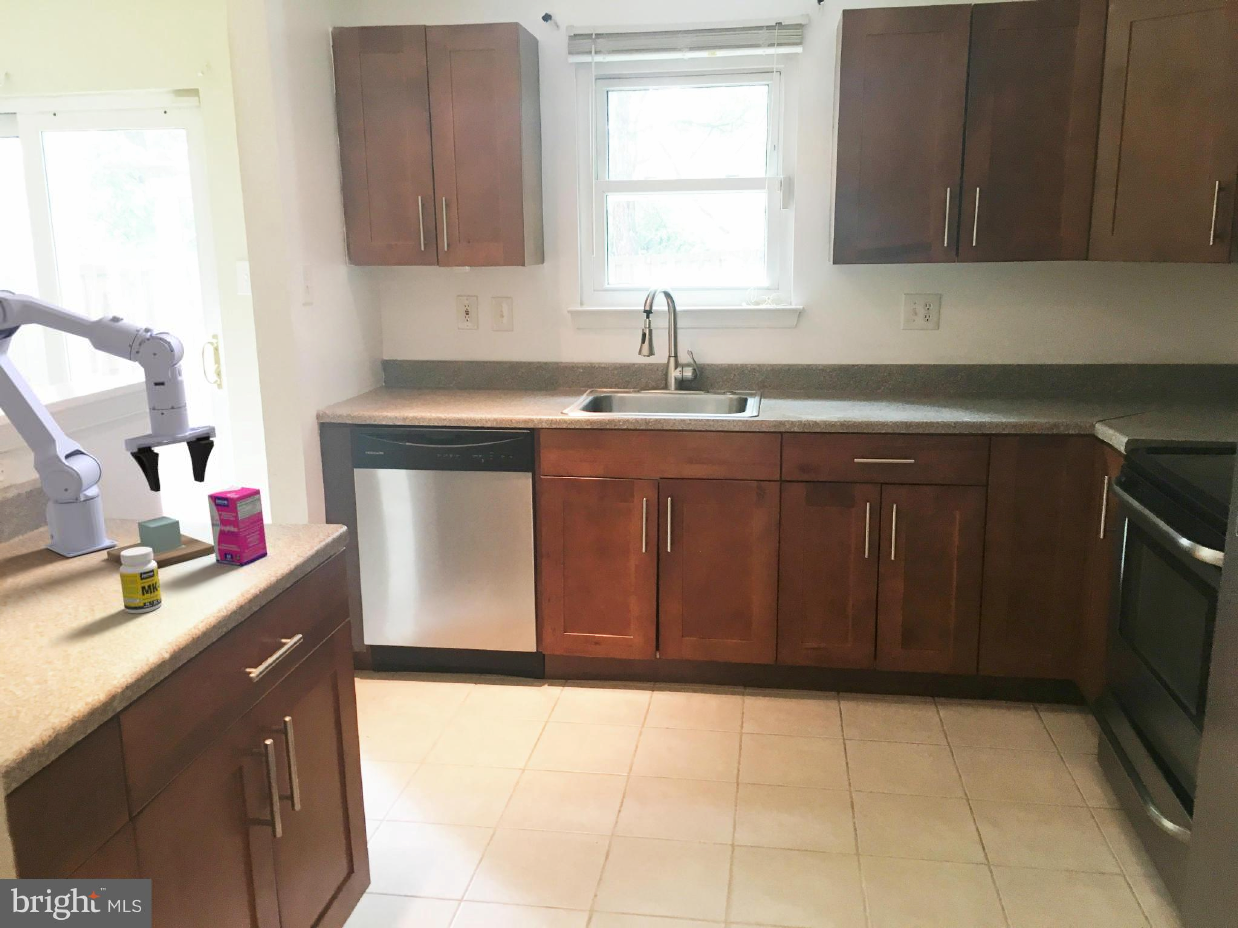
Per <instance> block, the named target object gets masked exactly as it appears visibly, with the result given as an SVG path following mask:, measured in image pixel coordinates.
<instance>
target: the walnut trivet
mask: <svg viewBox="0 0 1238 928" xmlns="http://www.w3.org/2000/svg"><path fill="white" fill-rule="evenodd" d="M181 541H182V547H179V548H176V549H172V550H168V551H165V552H161V553H157V554H154V553H153V559H152V560H153V561H155V562H156V563H157V568H158V569H160V568H165V567H168V566H172V565H175V564H178V563H182V562H186V561H189V560H194V559H197V558H200V557H203V556H204V557H205V556H208V555H211V554H215V550H214V544H211V543H209V542H206V541H203V540H200V539H197V538H194V537H191V536H188V535H185V534H182V533H181ZM135 547H141V543H140V542H136V543H132V544H129V545H124V546H122V547H118V548H113V549H109V550H106V554H107V559H109V560H111V561H114V562H116V563H119V564H121V565H123V564H122V563H121V556H120V553H121V552H122V551H124V550H127V549H130V548H135Z"/></svg>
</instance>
